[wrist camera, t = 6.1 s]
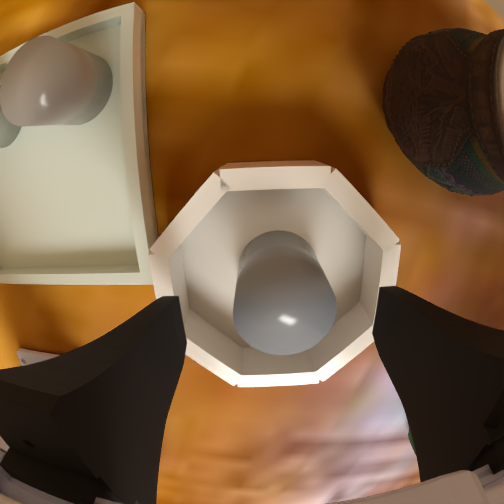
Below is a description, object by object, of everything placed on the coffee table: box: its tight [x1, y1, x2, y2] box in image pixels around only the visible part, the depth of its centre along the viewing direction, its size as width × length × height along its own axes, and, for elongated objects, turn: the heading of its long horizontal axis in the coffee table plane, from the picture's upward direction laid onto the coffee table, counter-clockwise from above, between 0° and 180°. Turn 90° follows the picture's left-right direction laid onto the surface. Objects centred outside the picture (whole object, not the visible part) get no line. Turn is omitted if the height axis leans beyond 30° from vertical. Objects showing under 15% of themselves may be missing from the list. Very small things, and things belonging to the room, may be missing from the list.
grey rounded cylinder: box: [233, 230, 337, 355], centre depth 12 cm, size 4×4×4 cm
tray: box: [0, 2, 159, 285], centre depth 12 cm, size 13×12×2 cm
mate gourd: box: [383, 28, 504, 196], centre depth 8 cm, size 7×8×10 cm
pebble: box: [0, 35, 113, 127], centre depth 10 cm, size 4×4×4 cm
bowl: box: [148, 160, 401, 387], centre depth 14 cm, size 10×10×3 cm
